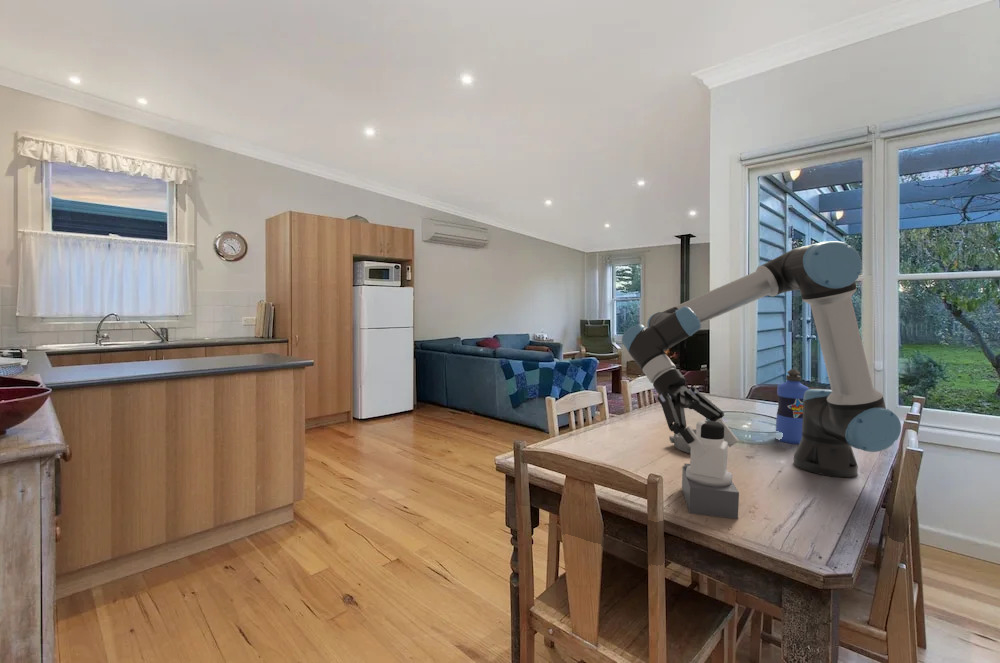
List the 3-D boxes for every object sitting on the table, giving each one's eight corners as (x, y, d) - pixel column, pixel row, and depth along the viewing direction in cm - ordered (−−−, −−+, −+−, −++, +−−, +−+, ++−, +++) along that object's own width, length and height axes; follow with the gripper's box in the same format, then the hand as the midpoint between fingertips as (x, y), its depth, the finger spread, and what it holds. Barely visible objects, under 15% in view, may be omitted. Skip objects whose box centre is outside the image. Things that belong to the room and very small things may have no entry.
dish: (701, 442, 157) (702, 427, 156) (728, 455, 143) (729, 439, 143) (663, 444, 154) (663, 429, 154) (686, 457, 140) (687, 441, 140)
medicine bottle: (727, 470, 109) (728, 421, 108) (723, 480, 103) (725, 428, 102) (695, 464, 112) (696, 417, 112) (689, 473, 106) (691, 423, 106)
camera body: (724, 493, 113) (725, 464, 113) (737, 519, 100) (739, 485, 99) (681, 489, 116) (682, 460, 116) (689, 513, 102) (690, 480, 102)
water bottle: (812, 444, 154) (816, 371, 152) (785, 444, 154) (788, 371, 153) (795, 436, 163) (798, 367, 162) (769, 436, 163) (772, 367, 162)
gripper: (682, 380, 126) (734, 447, 115) (624, 390, 112) (677, 467, 100) (701, 363, 121) (757, 431, 110) (642, 371, 107) (700, 450, 96)
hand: (719, 449), depth 105 cm, fingers open, 13 cm apart
